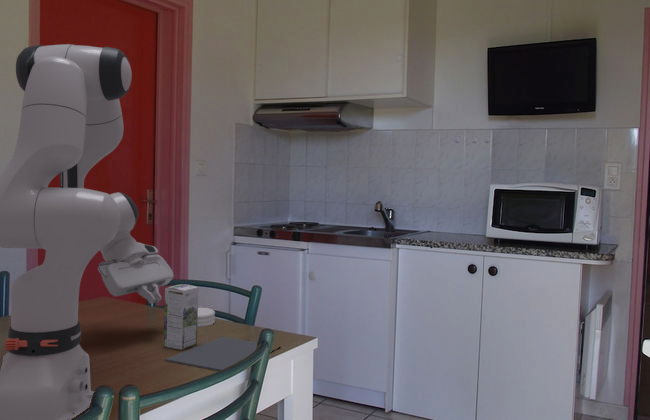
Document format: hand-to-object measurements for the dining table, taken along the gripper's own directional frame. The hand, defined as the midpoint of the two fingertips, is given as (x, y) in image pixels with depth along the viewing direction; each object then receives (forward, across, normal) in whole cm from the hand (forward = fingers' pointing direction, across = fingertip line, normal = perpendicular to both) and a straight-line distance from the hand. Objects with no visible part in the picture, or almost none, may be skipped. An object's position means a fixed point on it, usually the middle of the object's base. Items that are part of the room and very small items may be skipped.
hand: (156, 301), depth 157 cm
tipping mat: (+22, 0, -7) cm, 23 cm away
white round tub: (+5, +21, +10) cm, 23 cm away
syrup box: (+13, 0, +2) cm, 13 cm away
